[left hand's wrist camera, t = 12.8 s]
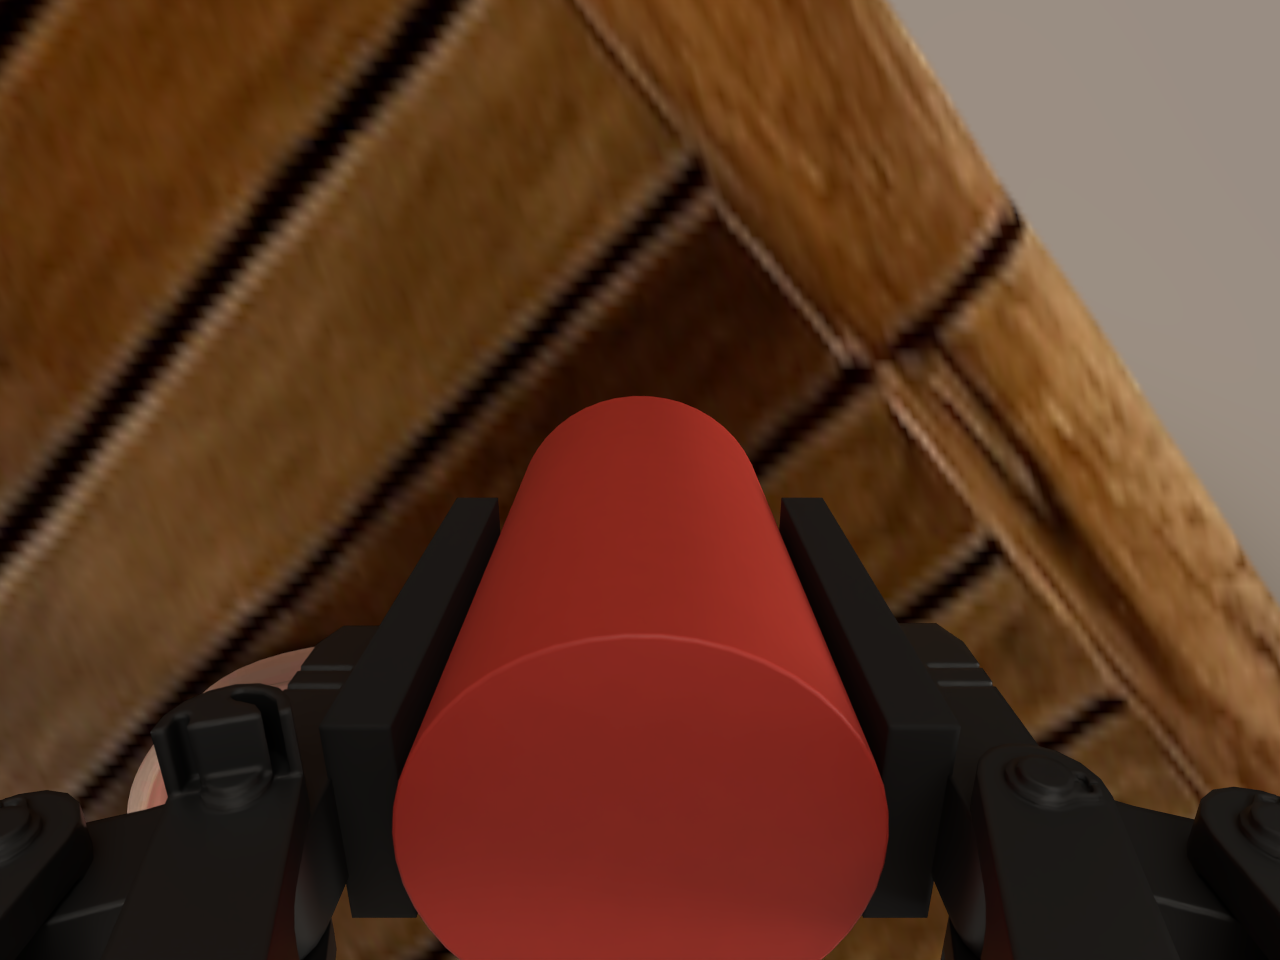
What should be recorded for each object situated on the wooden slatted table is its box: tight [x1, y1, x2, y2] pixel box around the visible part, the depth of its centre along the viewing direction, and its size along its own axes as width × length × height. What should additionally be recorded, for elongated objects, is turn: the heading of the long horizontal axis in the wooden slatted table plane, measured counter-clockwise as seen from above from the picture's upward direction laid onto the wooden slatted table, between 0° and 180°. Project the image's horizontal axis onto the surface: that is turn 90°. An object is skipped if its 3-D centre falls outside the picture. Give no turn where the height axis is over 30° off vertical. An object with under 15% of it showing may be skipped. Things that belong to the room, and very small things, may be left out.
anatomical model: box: [127, 647, 314, 813], centre depth 29 cm, size 13×4×12 cm
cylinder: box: [392, 396, 889, 960], centre depth 12 cm, size 5×5×9 cm
